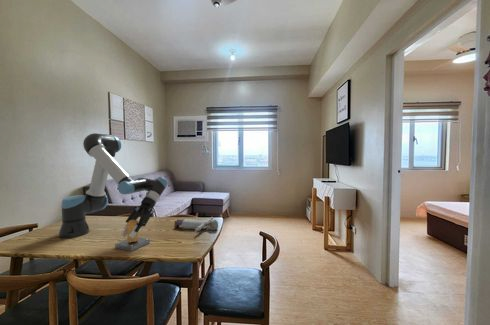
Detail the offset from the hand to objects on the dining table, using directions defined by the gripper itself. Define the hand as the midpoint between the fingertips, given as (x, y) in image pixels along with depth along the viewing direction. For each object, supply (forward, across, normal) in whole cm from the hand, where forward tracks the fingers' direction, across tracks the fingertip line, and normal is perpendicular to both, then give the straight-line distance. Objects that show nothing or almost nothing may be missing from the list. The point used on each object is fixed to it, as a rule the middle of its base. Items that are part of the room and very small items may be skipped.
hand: (126, 236), depth 118 cm
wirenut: (0, 0, -5) cm, 5 cm away
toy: (-24, -16, -33) cm, 44 cm away
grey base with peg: (+2, 0, -7) cm, 7 cm away
